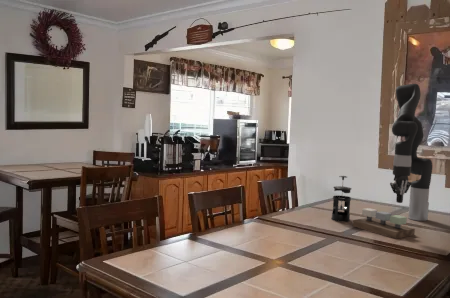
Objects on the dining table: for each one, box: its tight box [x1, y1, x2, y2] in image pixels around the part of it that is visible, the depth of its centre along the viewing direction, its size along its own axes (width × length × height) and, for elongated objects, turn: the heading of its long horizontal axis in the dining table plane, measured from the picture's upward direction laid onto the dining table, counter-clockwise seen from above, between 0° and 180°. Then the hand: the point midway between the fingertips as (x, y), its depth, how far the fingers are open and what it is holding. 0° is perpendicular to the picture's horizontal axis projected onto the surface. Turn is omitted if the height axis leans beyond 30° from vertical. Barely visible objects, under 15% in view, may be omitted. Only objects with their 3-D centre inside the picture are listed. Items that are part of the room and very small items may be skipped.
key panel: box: [352, 217, 416, 239], centre depth 200 cm, size 14×24×3 cm, turn 32°
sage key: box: [389, 214, 408, 229], centre depth 193 cm, size 5×5×6 cm
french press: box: [330, 175, 352, 223], centre depth 219 cm, size 12×9×23 cm
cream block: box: [361, 207, 378, 221], centre depth 207 cm, size 5×5×6 cm
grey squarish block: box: [375, 211, 393, 225], centre depth 200 cm, size 5×5×6 cm
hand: (399, 202), depth 192 cm, fingers closed
